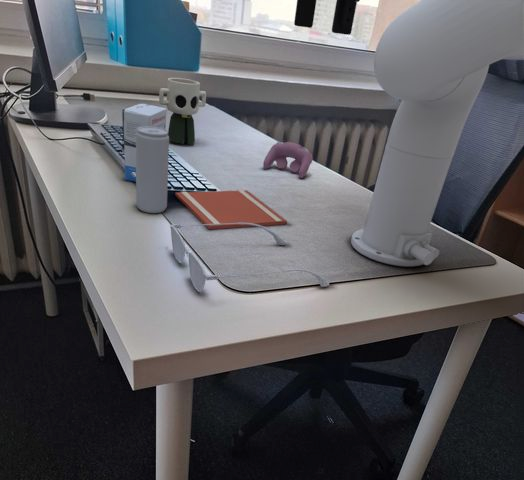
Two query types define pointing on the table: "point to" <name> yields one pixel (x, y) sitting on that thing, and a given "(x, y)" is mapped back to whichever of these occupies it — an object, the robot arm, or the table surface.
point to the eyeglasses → (200, 276)
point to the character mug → (182, 107)
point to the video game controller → (293, 151)
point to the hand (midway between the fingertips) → (321, 30)
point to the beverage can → (152, 169)
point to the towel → (229, 209)
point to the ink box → (133, 120)
